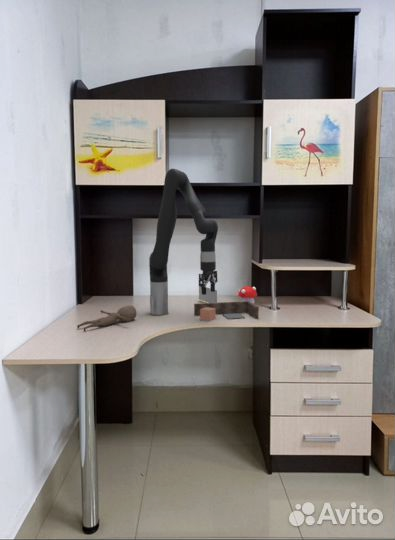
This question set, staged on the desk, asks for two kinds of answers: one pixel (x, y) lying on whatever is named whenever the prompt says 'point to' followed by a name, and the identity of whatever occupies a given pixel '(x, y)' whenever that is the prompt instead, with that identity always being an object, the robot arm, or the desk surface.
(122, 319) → the toy
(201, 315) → the block
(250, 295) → the mushroom
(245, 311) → the brown wooden corner barrier
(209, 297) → the sign holder
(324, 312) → the desk surface
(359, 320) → the desk surface
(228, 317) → the pad
